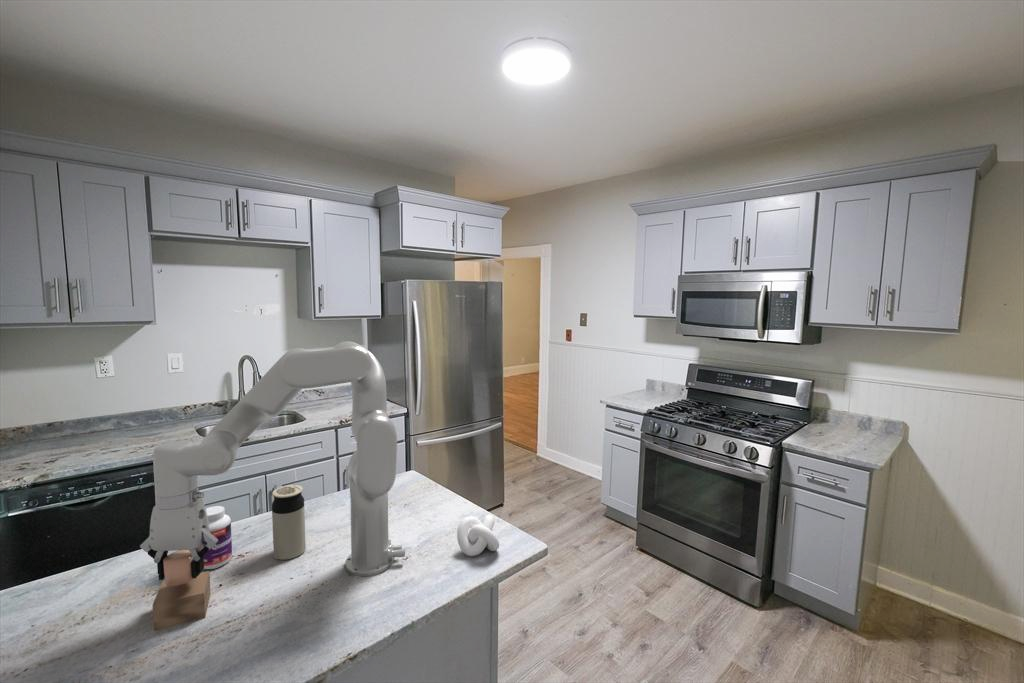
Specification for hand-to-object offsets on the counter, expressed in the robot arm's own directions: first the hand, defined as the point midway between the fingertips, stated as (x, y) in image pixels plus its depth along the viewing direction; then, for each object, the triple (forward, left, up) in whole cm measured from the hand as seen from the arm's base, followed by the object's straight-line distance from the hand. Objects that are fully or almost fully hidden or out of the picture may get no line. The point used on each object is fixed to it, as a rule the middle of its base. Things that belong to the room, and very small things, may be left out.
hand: (181, 574), depth 100 cm
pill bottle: (+3, -19, -9) cm, 21 cm away
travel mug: (-15, -22, -9) cm, 28 cm away
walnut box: (0, 0, -9) cm, 9 cm away
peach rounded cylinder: (0, 0, -1) cm, 1 cm away
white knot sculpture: (-68, -18, -9) cm, 71 cm away
